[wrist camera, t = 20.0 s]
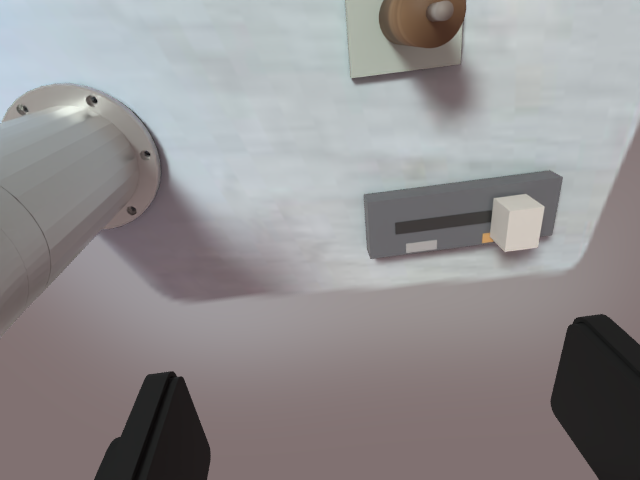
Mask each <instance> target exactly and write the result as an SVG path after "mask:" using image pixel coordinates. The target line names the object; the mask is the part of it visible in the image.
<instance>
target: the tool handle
mask: <svg viewBox="0 0 640 480" xmlns="http://www.w3.org/2000/svg"><path fill="white" fill-rule="evenodd" d="M465 12H466V0H383V2H382V5H381V7H380V11H379V25H380V29H381V31H382V33H383V35H384V36H385V37H386V38H387V39H388V40H389V41H390V42H392V43H394V44H398V45H405V46H413V47H421V48H436V47H440V46H442V45H444V44H446V43H447V42H449V41H450V40H451V39H452V38H453V37H454V36H455V35H456V34H457V32H458V31H459V29H460V27H461V25H462V23H463V21H464V17H465Z"/></svg>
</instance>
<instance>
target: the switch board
mask: <svg viewBox="0 0 640 480" xmlns="http://www.w3.org/2000/svg"><path fill="white" fill-rule="evenodd" d="M562 179H563V177H561V176H560V175H558V174H556V173H554V172H552V171H542V172H534V173H527V174H519V175H511V176H503V177H496V178H488V179H480V180H472V181H465V182H457V183H449V184H441V185H434V186H426V187H418V188H410V189H403V190H395V191H387V192H380V193H372V194H364V208H365V224H366V240H367V250H368V253H369V256H370V259H374V258H382V257H390V256H397V255H405V254H413V253H420V252H428V251H436V250H443V249H451V248H459V247H466V246H474V245H482V244H489V243H495V242H494V241H493V239H492V238H491V237H490V229H491V219H492V210H493V200H494V198H498V197H506V196H514V195H522V194H527V195H528V196H530V197H531V198H533V199H534V200H536V201H537V202H539V203H540V204H542V205H543V206H544V207H545V208H544V214H543V220H542V226H541V232H540V237H543V236H550V235H552V233H553V228H554V222H555V217H556V211H557V206H558V201H559V195H560V190H561V184H562Z"/></svg>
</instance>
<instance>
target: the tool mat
mask: <svg viewBox="0 0 640 480" xmlns="http://www.w3.org/2000/svg"><path fill="white" fill-rule="evenodd" d="M382 2H383V0H345V8H346V22H347V37H348V51H349V65H350V78H357V77H365V76H373V75H380V74H388V73H396V72H404V71H412V70H420V69H428V68H436V67H444V66H452V65H460V64H461V44H462V25H463V23H462V25H461V27H460V29H459V31H458V32H457V34H456V35H455V36H454V37H453V38H452V39H451V40H450V41H449V42H447V43H446V44H444V45H442V46H440V47H436V48H421V47H413V46H405V45H398V44H394V43H392V42H390V41H389V40H388V39H387V38H386V37H385V36H384V35H383V33H382V31H381V29H380V25H379V11H380V7H381V5H382Z"/></svg>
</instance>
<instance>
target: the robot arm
mask: <svg viewBox="0 0 640 480" xmlns="http://www.w3.org/2000/svg"><path fill="white" fill-rule="evenodd" d="M94 97H95V98H96V99H97V101H98V103H96V102H95V101H94ZM26 107H27V108H28V110H27V108H26ZM146 151H148V152H149V153H150V155H147V154H146ZM160 177H161V168H160V159H159V155H158V151H157V148H156V146H155V143H154V141H153V139H152V137H151V135H150V133H149V132H148V130H147V129H146V127H145V126H144V124H143V123H142V122H141V121H140V119H139V118H138V117H137V116H136V115H135V114H134V113H133V112H132V111H131V110H130V109H129V108H127V107H126V106H125V105H123V104H122V103H121V102H120V101H118V100H117V99H115V98H113V97H111V96H110V95H108V94H106V93H104V92H102V91H99V90H96V89H94V88H91V87H88V86H84V85H78V84H72V83H63V84H51V85H46V86H41V87H39V88H36V89H33V90H30V91H28V92H26V93H25V94H23V95H22V96H20V97H19V98H17V99H16V100H15V101H14V102H13V104H12V105H11V106H10V107H9V108H8V109H7V112H6V114H5V116H4V118H3V120H2V123H0V338H1V337H2V336H3V335H4V333H5V332H6V331H7V330H8V329H9V328H10V327H11V326H12V324H13V323H14V322H15V321H16V320H17V319H18V318H19V317H20V316H21V315H22V313H23V312H24V311H25V310H26V309H27V308H28V307H29V306H30V305H31V304H32V303H33V302H34V301H35V300H36V299H37V297H39V296H40V295H41V294H42V293H43V292H44V291H45V290H46V288H48V286H49V285H50V284H51V283H52V282H53V281H54V280H55V279H56V278H57V277H58V276H59V275H60V273H62V272H63V270H64V269H65V268H66V267H67V266H68V265H69V264H70V263H71V262H72V261H73V260H74V259H75V258H76V257H77V256H78V254H80V252H81V251H82V250H83V249H84V248H85V247H86V246H87V245H88V244H89V243H90V242H91V241H92V240H93V239H94V238H95V237H96V235H97V234H98V233H99V232H100V231H101V230H104V229H112V228H116V227H120V226H123V225H125V224H127V223H130V222H132V221H133V220H135V219H136V218H137V217H139V216H140V215H141V214H142V213H143V212H144V211H145V210H146V209H147V208H148V207H149V205H150V204H151V202H152V201H153V199H154V198H155V196H156V193H157V191H158V188H159V183H160ZM132 206H133V207H134V208H136V209H134V208H133V207H132ZM551 407H552V410H553V413H554V415H555V416H556V418H557V419H558V421H559V422H560V424H561V425H562V427H563V428H564V429H565V431H566V432H567V434H568V435H569V436H570V438H571V440H572V441H573V442H574V444H575V445H576V447H577V448H578V450H579V451H580V452H581V454H582V455H583V457H584V458H585V460H586V461H587V462H588V464H589V466H590V467H591V468H592V470H593V471H594V472H595V474H596V475H597V477H598V479H599V480H640V345H639V344H638V343H637V342H636V341H635V340H634V339H632V337H630V336H629V335H628V334H627V333H626V332H625V331H624V330H623V329H621V328H620V327H619V326H618V325H617V324H616V323H615V322H614V321H612V320H611V319H610V318H609V317H607V316H606V315H603V314H600V315H592V316H585V317H578V318H576V319H575V320H574V322H573V324H572V325H569V326H568V329H567V333H566V337H565V341H564V346H563V350H562V354H561V358H560V362H559V367H558V371H557V375H556V380H555V384H554V388H553V392H552V396H551ZM209 465H210V447H209V444H208V441H207V439H206V436H205V433H204V431H203V428H202V426H201V423H200V420H199V417H198V415H197V412H196V410H195V407H194V404H193V402H192V399H191V396H190V394H189V391H188V388H187V386H186V383H185V381H184V378H183V377H177V376H176V374H175V373H174V372H164V373H157V374H149V375H147V376H146V378H145V380H144V382H143V384H142V387H141V389H140V391H139V394H138V396H137V399H136V401H135V403H134V406H133V409H132V411H131V413H130V416H129V418H128V420H127V423H126V425H125V428H124V430H123V432H122V435H121V437H118V438H116V439H114V440H113V441H112V442H111V444H110V446H109V447H108V449H107V451H106V453H105V456H104V458H103V460H102V463H101V465H100V467H99V470H98V472H97V474H96V476H95V479H94V480H207V476H208V471H209Z"/></svg>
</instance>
